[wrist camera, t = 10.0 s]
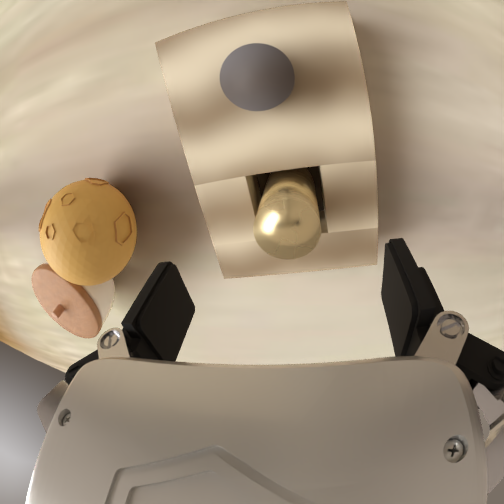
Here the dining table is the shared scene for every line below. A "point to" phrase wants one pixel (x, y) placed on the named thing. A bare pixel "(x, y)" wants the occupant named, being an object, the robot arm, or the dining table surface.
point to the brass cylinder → (288, 215)
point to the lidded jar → (73, 301)
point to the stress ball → (88, 232)
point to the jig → (276, 128)
